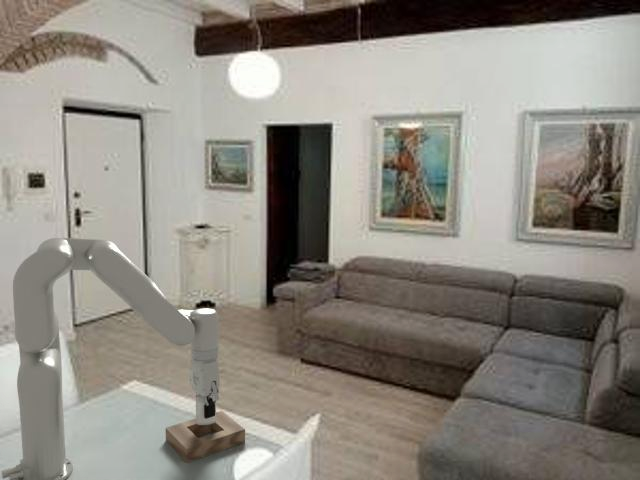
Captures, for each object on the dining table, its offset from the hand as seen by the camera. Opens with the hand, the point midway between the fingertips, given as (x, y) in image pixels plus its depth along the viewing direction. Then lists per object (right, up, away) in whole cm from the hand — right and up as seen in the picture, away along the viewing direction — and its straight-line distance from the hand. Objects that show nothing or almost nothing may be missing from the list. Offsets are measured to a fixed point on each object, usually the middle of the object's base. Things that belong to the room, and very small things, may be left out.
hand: (205, 413), depth 150 cm
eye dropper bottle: (0, -3, 0) cm, 3 cm away
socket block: (0, -9, +1) cm, 9 cm away
